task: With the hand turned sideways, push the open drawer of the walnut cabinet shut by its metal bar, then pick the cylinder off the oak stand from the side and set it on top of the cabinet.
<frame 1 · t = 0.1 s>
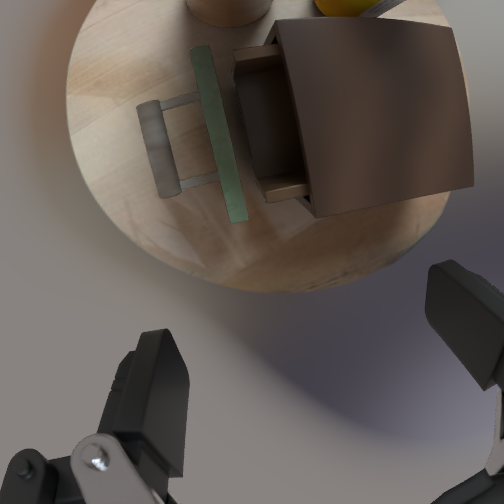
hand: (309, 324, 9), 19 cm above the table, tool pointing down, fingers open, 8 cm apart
cabinet: (348, 110, 24), on the table
beer can: (341, 2, 20), on the table
drawer: (269, 122, 20), point 4 cm above the table, slide at 4.0 cm
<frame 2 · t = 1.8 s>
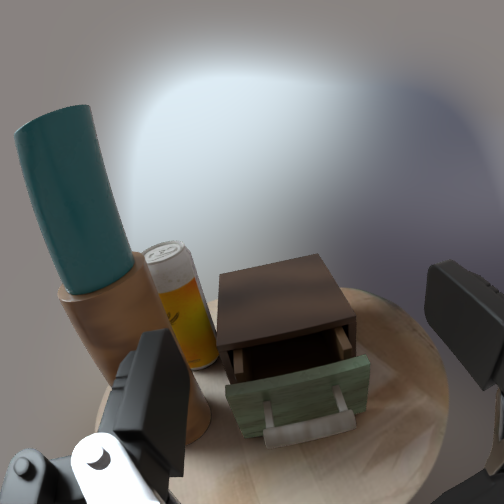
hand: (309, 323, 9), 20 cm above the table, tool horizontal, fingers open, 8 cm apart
cabinet: (287, 350, 35), on the table
beer can: (200, 357, 38), on the table
stand: (177, 419, 28), on the table
cylinder: (99, 273, 21), point 18 cm above the table, touching stand
drawer: (295, 373, 26), point 4 cm above the table, slide at 4.0 cm
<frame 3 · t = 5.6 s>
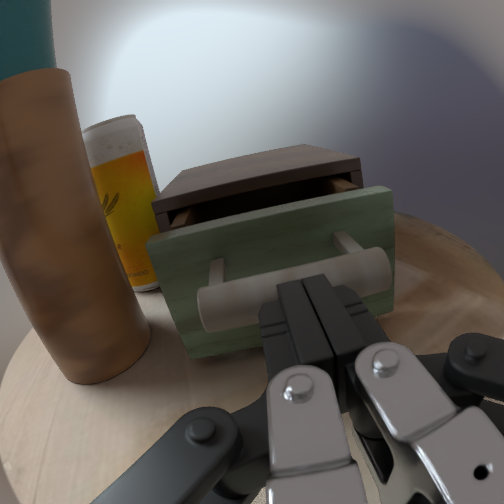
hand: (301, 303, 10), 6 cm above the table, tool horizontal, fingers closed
cabinet: (269, 261, 27), on the table
beer can: (154, 279, 29), on the table
stand: (103, 347, 19), on the table
cylinder: (15, 96, 12), point 18 cm above the table, touching stand
drawer: (273, 250, 18), point 4 cm above the table, slide at 3.6 cm, touching gripper
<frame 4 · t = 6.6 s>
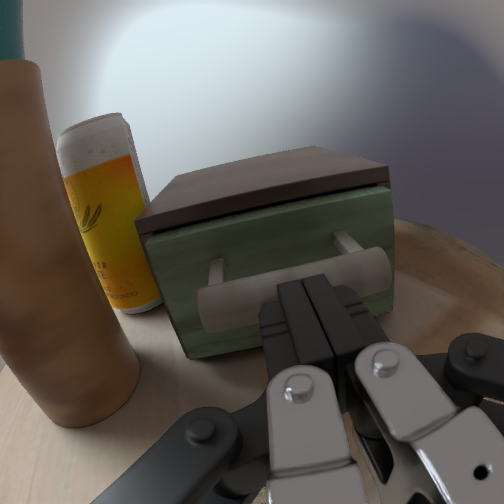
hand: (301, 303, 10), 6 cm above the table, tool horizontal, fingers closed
cabinet: (275, 281, 23), on the table
beer can: (145, 299, 25), on the table
stand: (88, 382, 16), on the table
drawer: (272, 249, 18), point 4 cm above the table, slide at 0.0 cm, touching cabinet, gripper
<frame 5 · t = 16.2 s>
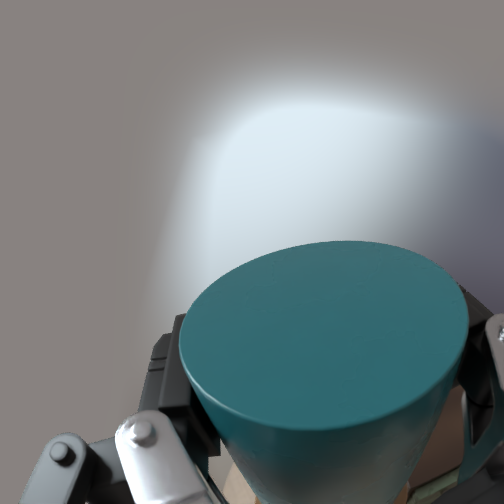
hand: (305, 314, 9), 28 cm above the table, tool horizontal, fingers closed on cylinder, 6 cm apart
cabinet: (424, 445, 25), on the table
cylinder: (331, 496, 11), point 18 cm above the table, touching gripper, stand
drawer: (447, 454, 20), point 4 cm above the table, slide at 0.0 cm, touching cabinet
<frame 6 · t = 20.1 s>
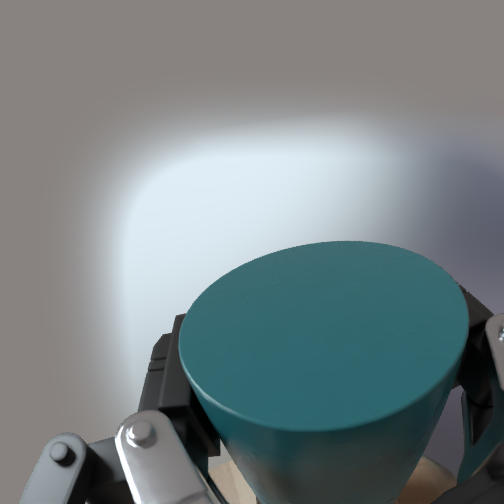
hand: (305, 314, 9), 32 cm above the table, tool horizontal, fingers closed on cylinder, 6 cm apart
cylinder: (331, 496, 11), point 22 cm above the table, touching gripper
when the fingers open (19 cm above the table, at t = 24.3 s): cylinder stays where it is, resting on cabinet.
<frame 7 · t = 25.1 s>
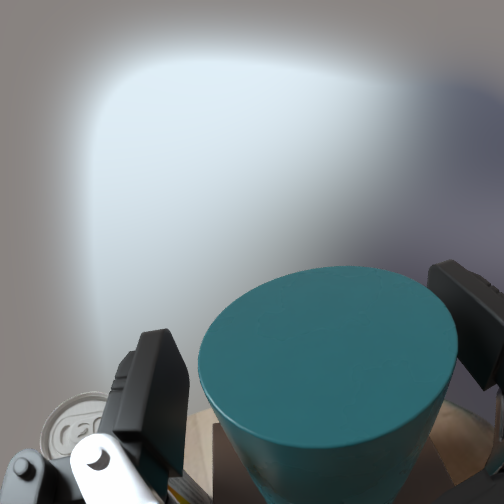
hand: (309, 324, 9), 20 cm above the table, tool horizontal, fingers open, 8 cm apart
cylinder: (333, 497, 11), point 9 cm above the table, touching cabinet
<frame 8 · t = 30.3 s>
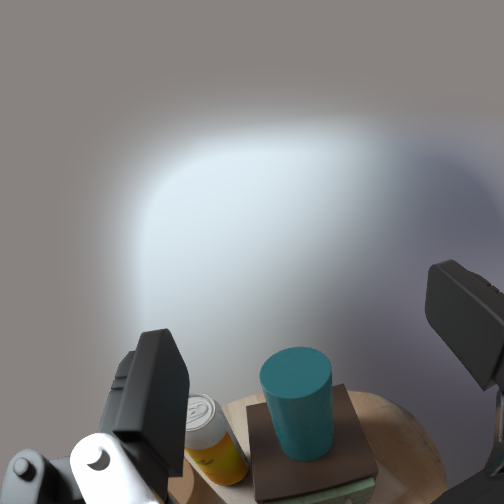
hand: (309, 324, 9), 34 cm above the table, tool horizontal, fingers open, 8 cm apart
cabinet: (310, 467, 32), on the table
beer can: (228, 470, 34), on the table
cylinder: (306, 439, 29), point 9 cm above the table, touching cabinet
drawer: (314, 480, 27), point 4 cm above the table, slide at 0.0 cm, touching cabinet
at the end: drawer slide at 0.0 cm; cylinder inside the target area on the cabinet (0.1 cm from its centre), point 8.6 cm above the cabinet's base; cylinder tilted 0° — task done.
